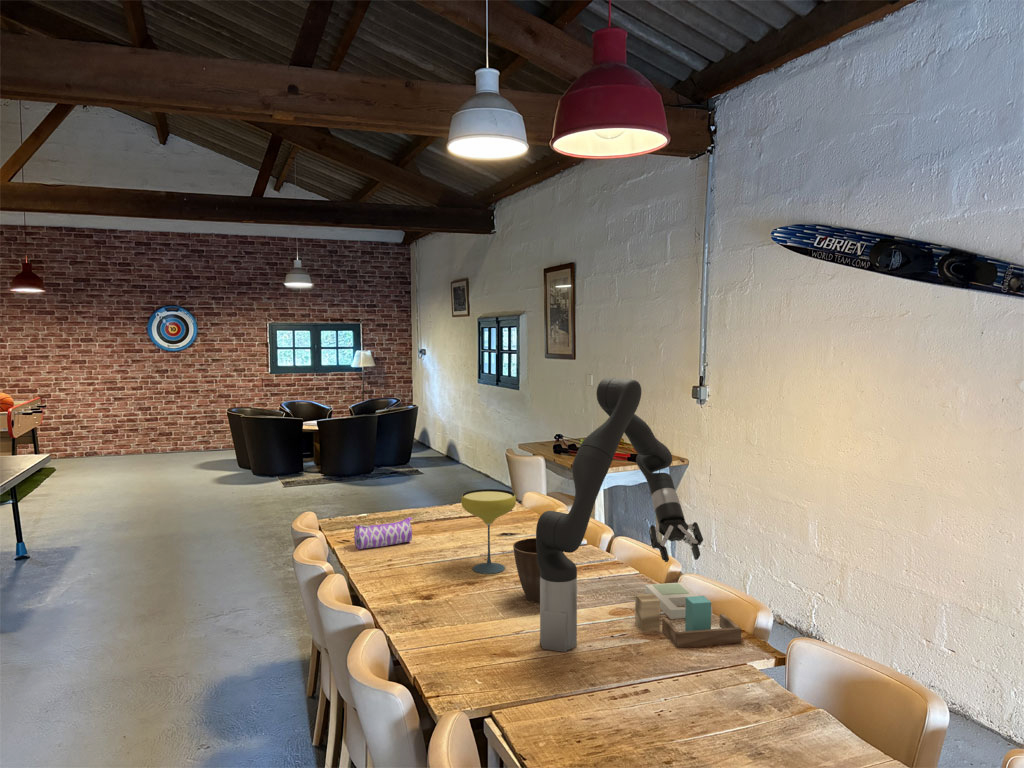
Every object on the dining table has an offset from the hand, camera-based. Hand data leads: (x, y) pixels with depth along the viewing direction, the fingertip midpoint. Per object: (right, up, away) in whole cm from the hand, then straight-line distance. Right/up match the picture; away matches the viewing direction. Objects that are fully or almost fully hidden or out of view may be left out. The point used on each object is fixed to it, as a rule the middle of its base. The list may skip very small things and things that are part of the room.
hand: (682, 559), depth 192 cm
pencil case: (-95, -12, +69) cm, 118 cm away
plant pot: (-39, -15, +15) cm, 44 cm away
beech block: (-11, -16, -6) cm, 20 cm away
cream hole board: (+1, -15, +10) cm, 18 cm away
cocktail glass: (-54, -14, +42) cm, 70 cm away
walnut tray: (+2, -17, -12) cm, 21 cm away
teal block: (+2, -17, -10) cm, 20 cm away
